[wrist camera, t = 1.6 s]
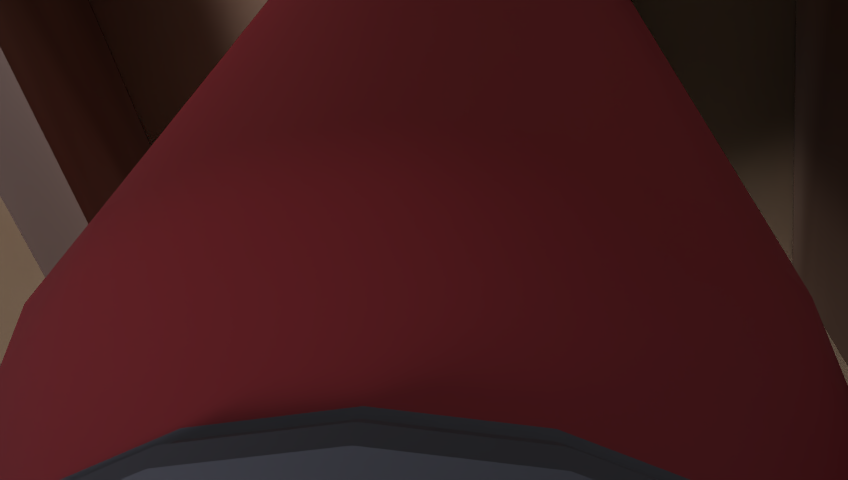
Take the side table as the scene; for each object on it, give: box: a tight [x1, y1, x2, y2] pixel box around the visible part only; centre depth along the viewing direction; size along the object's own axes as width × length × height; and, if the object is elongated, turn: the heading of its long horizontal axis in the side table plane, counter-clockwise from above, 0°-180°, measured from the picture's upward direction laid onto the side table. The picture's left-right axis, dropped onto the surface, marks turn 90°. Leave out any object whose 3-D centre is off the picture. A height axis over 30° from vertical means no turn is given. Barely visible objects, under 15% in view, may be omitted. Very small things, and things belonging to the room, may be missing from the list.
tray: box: [0, 0, 848, 365], centre depth 13 cm, size 14×12×3 cm
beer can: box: [0, 0, 848, 480], centre depth 10 cm, size 7×7×12 cm
